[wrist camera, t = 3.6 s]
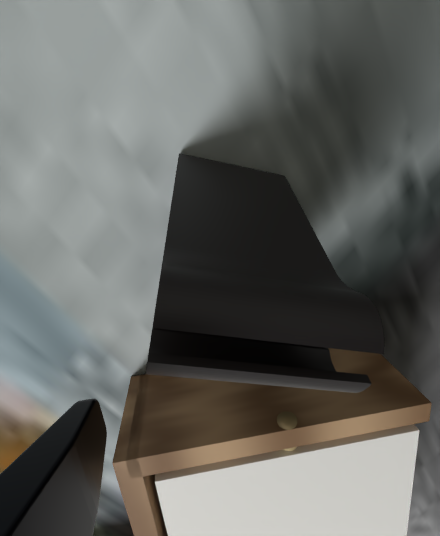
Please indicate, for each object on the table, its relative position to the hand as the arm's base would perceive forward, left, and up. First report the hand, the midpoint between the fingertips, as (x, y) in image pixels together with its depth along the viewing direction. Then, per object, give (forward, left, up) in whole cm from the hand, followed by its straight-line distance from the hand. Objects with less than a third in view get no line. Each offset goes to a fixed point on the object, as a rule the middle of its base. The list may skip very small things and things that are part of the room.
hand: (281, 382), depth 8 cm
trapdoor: (-2, +17, -9) cm, 19 cm away
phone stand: (0, 0, -13) cm, 13 cm away
